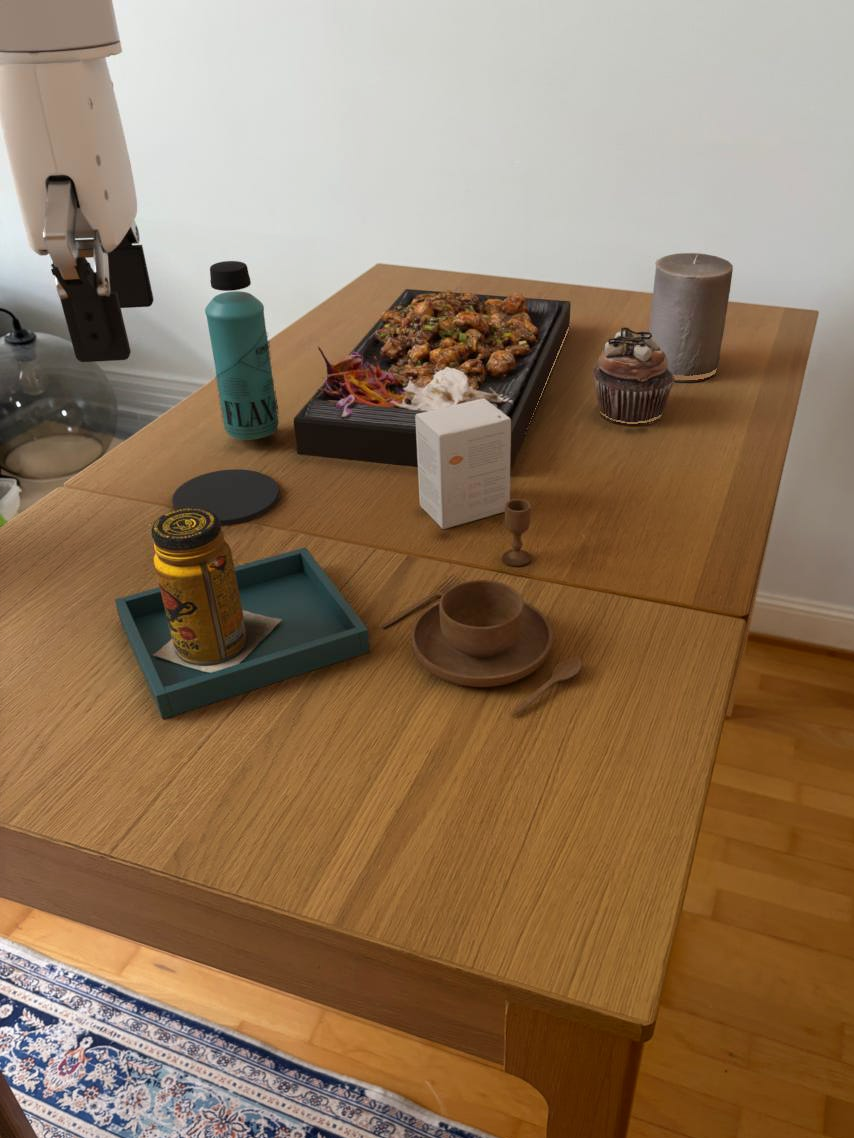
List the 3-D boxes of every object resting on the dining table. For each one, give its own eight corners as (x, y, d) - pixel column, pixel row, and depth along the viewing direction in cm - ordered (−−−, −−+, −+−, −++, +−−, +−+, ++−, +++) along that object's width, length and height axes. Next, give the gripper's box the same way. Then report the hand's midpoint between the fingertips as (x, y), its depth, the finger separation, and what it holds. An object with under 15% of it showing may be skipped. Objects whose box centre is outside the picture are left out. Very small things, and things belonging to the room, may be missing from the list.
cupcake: (664, 433, 116) (674, 351, 109) (583, 424, 118) (589, 342, 112) (674, 401, 123) (684, 322, 117) (598, 392, 125) (604, 314, 119)
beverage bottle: (221, 453, 112) (189, 274, 99) (231, 427, 117) (202, 255, 105) (278, 452, 112) (254, 274, 100) (285, 426, 117) (263, 254, 105)
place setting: (358, 637, 84) (352, 580, 81) (510, 545, 96) (512, 492, 92) (511, 731, 75) (512, 671, 71) (659, 617, 87) (667, 561, 83)
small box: (485, 488, 105) (485, 396, 99) (510, 512, 101) (513, 417, 95) (417, 506, 102) (413, 412, 96) (441, 531, 98) (439, 434, 92)
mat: (189, 535, 97) (188, 530, 97) (161, 488, 105) (160, 483, 105) (294, 509, 102) (293, 504, 101) (260, 465, 109) (259, 460, 109)
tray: (162, 719, 76) (156, 696, 75) (120, 621, 86) (113, 599, 85) (370, 652, 83) (368, 629, 81) (308, 568, 93) (305, 546, 91)
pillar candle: (715, 356, 134) (732, 243, 125) (719, 385, 127) (738, 267, 118) (644, 353, 136) (656, 240, 126) (643, 381, 128) (656, 263, 119)
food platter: (508, 476, 107) (510, 387, 101) (297, 453, 111) (286, 367, 105) (569, 331, 142) (573, 258, 136) (406, 318, 146) (403, 247, 140)
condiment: (152, 657, 82) (120, 533, 74) (213, 603, 88) (189, 484, 80) (225, 679, 79) (199, 554, 72) (282, 622, 85) (264, 502, 78)
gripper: (15, 11, 60) (85, 291, 71) (-78, 46, 47) (26, 387, 57) (139, 8, 61) (191, 286, 71) (84, 42, 47) (158, 380, 58)
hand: (118, 331), depth 64 cm, fingers open, 9 cm apart
